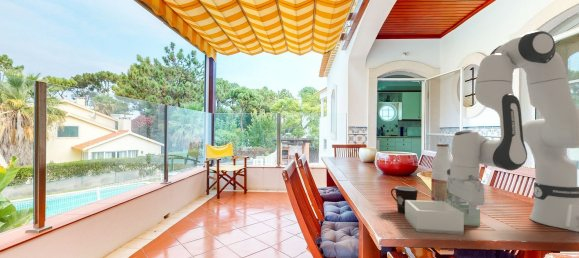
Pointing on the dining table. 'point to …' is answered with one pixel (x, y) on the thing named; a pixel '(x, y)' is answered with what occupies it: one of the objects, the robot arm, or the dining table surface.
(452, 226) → the box
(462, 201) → the syrup box
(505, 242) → the dining table surface
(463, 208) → the small crate
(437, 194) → the fruit juice
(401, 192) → the coffee mug
